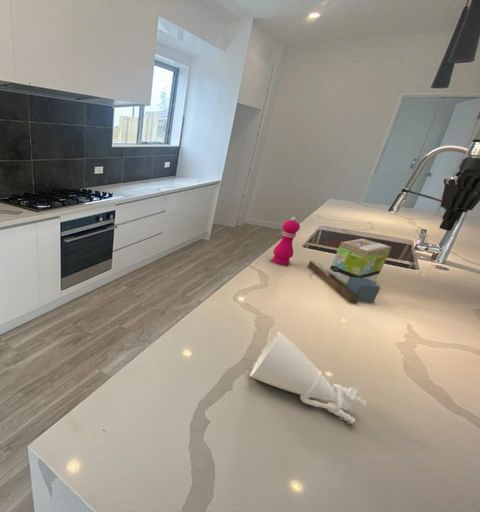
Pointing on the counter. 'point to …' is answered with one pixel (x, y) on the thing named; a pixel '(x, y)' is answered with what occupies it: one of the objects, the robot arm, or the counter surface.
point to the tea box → (359, 260)
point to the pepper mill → (286, 242)
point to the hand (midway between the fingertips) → (444, 229)
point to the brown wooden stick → (334, 282)
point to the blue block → (363, 288)
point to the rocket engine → (302, 377)
